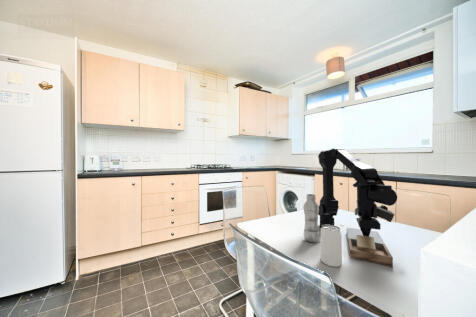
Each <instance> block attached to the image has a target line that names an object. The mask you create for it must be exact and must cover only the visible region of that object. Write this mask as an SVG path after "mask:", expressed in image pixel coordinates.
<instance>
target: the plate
mask: <svg viewBox="0 0 476 317" xmlns="http://www.w3.org/2000/svg"><path fill="white" fill-rule="evenodd" d="M357 235H363V234H362V232H361V229H360V228H353V227H346V238H347V240H348V239H351V243H352V245H357ZM369 237H374V242H375V248H376V249H381V250H383V245H382V244H385V242H384V240H383V238H382V237H381V235H380V233H379V232H378V231H376V230H375V231H374V230H371V231H370V235H369ZM347 245H348V247H349V244H348V243H347ZM385 245H386V244H385Z"/></svg>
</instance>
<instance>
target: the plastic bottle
mask: <svg viewBox="0 0 476 317" xmlns="http://www.w3.org/2000/svg"><path fill="white" fill-rule="evenodd" d="M318 212H319V204H318V202H316V194H314V193H312V194H311V193H307V194H306V201H305V202H304V204H303V213H304V230H303V238H304V240H305V241H306V242H309V243H317V242H319V241H320V231H319V224H318V220H319V215H318Z"/></svg>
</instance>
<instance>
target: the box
mask: <svg viewBox="0 0 476 317" xmlns="http://www.w3.org/2000/svg"><path fill="white" fill-rule="evenodd" d="M348 244H349V246H348V252H349V258H350V259H353V260H358V261H363V262H367V263H374V264H377V265H382V266H387V267H394V258H393V256H392V254H391V252H390V250H389V249H388V247H387V245H386V244H382V245H383V250H381V249H376V251H375V253H370V252H365V251H359V250H357V245H352V243H351V239H347V245H348Z"/></svg>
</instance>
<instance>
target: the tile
mask: <svg viewBox="0 0 476 317" xmlns="http://www.w3.org/2000/svg"><path fill="white" fill-rule="evenodd" d="M357 250H359V251H365V252H370V253H375V251H376V248H375V242H374V237H369V236H363V235H357Z"/></svg>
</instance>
